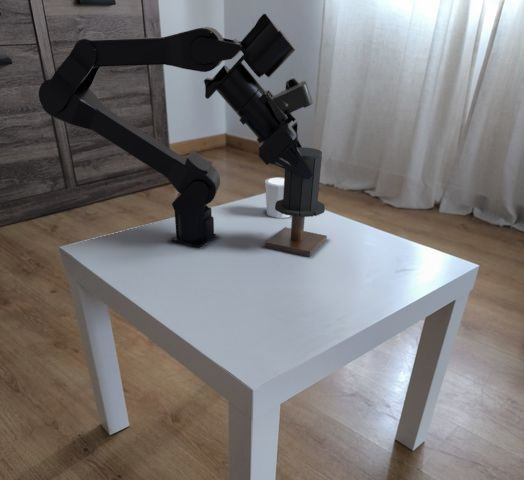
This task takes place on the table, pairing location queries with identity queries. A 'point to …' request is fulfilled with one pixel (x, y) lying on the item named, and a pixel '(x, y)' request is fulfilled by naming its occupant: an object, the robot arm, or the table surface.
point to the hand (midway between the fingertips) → (310, 172)
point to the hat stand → (296, 239)
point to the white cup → (274, 195)
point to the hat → (302, 188)
